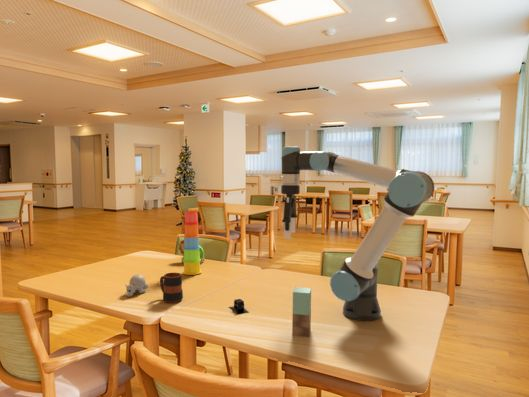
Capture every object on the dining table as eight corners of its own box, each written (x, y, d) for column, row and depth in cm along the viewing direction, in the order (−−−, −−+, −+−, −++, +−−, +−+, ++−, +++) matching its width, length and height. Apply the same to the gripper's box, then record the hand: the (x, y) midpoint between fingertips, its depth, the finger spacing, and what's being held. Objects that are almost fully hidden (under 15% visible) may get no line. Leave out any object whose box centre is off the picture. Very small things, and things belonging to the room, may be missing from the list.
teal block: (310, 309, 147) (311, 288, 147) (309, 315, 141) (309, 293, 141) (294, 307, 148) (294, 286, 148) (292, 313, 143) (292, 292, 142)
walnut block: (310, 330, 148) (310, 309, 147) (308, 337, 142) (309, 315, 141) (294, 328, 149) (294, 307, 148) (292, 335, 143) (292, 313, 143)
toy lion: (205, 261, 249) (204, 237, 248) (202, 264, 244) (202, 239, 242) (180, 260, 252) (180, 236, 250) (177, 262, 246) (177, 238, 245)
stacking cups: (179, 274, 219) (179, 212, 216) (187, 270, 229) (186, 210, 226) (197, 276, 217) (197, 213, 214) (204, 271, 227) (204, 211, 224)
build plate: (225, 307, 172) (225, 297, 171) (241, 305, 175) (241, 294, 175) (237, 317, 161) (237, 306, 161) (253, 314, 164) (253, 303, 164)
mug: (167, 294, 187) (167, 270, 186) (186, 299, 180) (186, 273, 179) (153, 299, 179) (153, 274, 178) (173, 304, 173) (173, 278, 172)
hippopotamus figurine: (123, 301, 185) (117, 286, 181) (139, 285, 195) (134, 270, 191) (134, 303, 182) (129, 288, 178) (151, 286, 192) (146, 272, 188)
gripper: (286, 182, 177) (285, 230, 179) (276, 185, 153) (275, 240, 155) (303, 183, 175) (302, 230, 177) (295, 186, 151) (294, 241, 153)
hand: (289, 235), depth 166 cm, fingers open, 13 cm apart
